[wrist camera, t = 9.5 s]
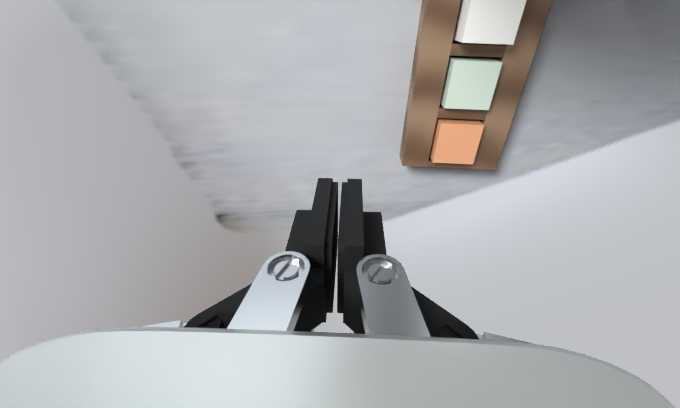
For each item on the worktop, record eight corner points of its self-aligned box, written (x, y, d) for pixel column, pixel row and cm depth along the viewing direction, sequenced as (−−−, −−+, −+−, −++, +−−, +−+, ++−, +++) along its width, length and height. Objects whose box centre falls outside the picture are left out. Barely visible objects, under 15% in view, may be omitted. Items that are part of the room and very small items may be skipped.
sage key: (446, 55, 32) (454, 60, 30) (491, 57, 32) (502, 62, 30) (437, 100, 35) (444, 108, 32) (479, 102, 35) (488, 110, 32)
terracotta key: (435, 114, 36) (441, 123, 33) (475, 116, 36) (484, 125, 33) (427, 152, 38) (432, 162, 36) (465, 153, 38) (473, 164, 36)
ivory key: (464, -18, 28) (475, -20, 26) (516, -16, 28) (531, -18, 26) (453, 39, 31) (462, 42, 28) (500, 41, 31) (513, 44, 28)
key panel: (426, -31, 29) (433, -35, 27) (544, -27, 29) (562, -30, 27) (399, 155, 40) (402, 165, 37) (486, 159, 39) (495, 170, 37)
